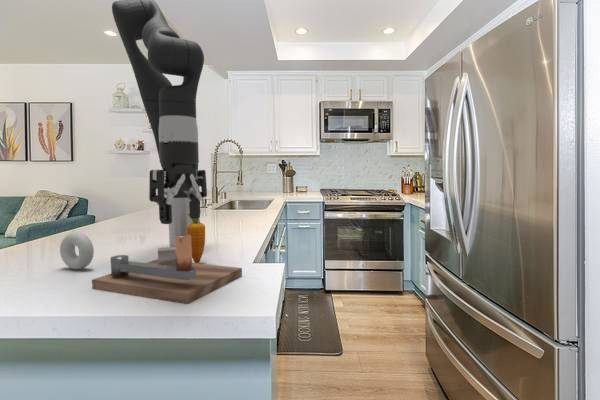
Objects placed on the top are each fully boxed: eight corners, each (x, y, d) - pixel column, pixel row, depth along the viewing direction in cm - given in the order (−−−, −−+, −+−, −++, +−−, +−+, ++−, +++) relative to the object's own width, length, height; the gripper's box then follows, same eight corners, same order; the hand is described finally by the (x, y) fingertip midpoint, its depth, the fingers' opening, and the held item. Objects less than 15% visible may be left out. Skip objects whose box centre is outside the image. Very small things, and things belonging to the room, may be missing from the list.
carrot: (189, 266, 99) (188, 211, 98) (186, 262, 103) (184, 209, 102) (208, 264, 101) (206, 210, 100) (204, 260, 106) (202, 208, 104)
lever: (121, 271, 86) (118, 229, 85) (197, 281, 77) (196, 234, 77) (107, 275, 82) (105, 231, 82) (186, 286, 74) (184, 237, 73)
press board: (158, 266, 100) (157, 240, 99) (242, 276, 90) (241, 247, 89) (92, 288, 81) (90, 257, 81) (187, 303, 71) (186, 268, 71)
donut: (97, 269, 97) (95, 231, 97) (86, 272, 94) (84, 233, 93) (69, 266, 101) (67, 229, 100) (57, 269, 97) (55, 232, 97)
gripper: (187, 144, 82) (189, 216, 83) (136, 138, 69) (140, 224, 70) (215, 142, 79) (217, 217, 80) (168, 137, 66) (171, 226, 67)
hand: (181, 221), depth 75 cm, fingers open, 8 cm apart
